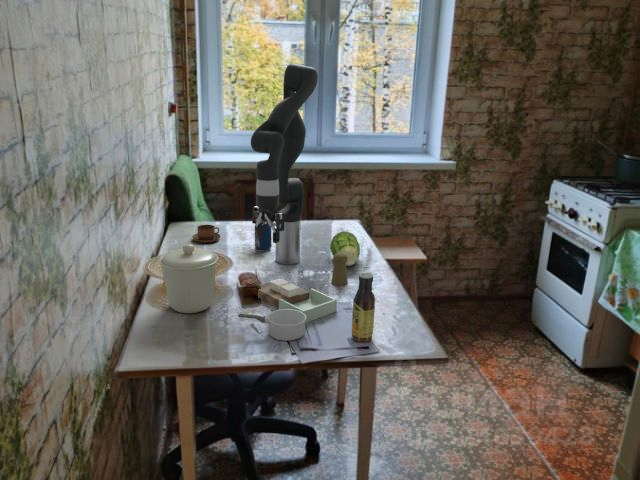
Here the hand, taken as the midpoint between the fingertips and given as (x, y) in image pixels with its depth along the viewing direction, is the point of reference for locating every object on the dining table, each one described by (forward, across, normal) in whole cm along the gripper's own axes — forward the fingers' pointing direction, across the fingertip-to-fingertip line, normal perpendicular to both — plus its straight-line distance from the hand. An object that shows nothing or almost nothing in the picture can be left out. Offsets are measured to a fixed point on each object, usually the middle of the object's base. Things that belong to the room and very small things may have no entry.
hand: (268, 239), depth 193 cm
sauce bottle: (+19, +45, -1) cm, 49 cm away
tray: (+19, +21, -1) cm, 28 cm away
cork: (+19, +10, +24) cm, 33 cm away
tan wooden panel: (+19, +8, 0) cm, 20 cm away
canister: (+19, -6, -27) cm, 34 cm away
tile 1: (+16, +7, 0) cm, 17 cm away
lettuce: (+19, -2, +41) cm, 45 cm away
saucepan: (+19, +26, -19) cm, 37 cm away
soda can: (+18, -36, +26) cm, 48 cm away
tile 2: (+16, +12, -1) cm, 20 cm away
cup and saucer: (+18, -62, +15) cm, 66 cm away
